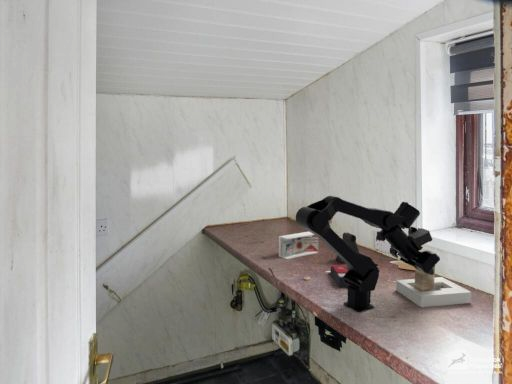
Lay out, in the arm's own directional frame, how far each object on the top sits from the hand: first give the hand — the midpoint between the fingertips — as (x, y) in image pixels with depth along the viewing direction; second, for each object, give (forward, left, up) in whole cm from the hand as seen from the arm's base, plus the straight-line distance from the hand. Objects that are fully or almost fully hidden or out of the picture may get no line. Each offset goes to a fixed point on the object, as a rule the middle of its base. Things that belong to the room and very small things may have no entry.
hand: (428, 271), depth 114 cm
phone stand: (+5, +41, -8) cm, 42 cm away
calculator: (-10, +24, -9) cm, 28 cm away
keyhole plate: (+1, -1, -8) cm, 8 cm away
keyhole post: (-1, 0, -8) cm, 8 cm away
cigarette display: (-6, +60, -9) cm, 61 cm away
